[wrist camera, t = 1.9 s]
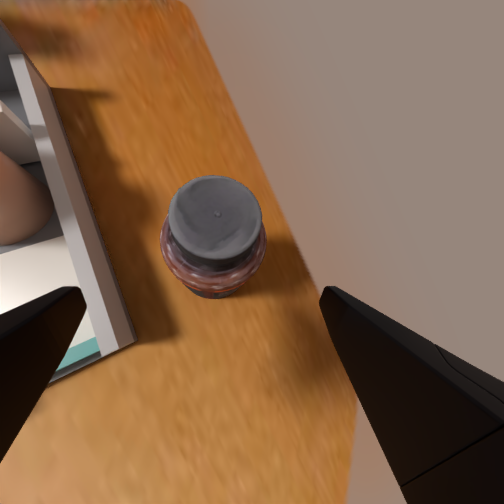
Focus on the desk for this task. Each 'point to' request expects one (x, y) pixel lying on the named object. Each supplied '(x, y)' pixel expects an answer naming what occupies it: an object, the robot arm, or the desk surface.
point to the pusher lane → (59, 224)
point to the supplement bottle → (213, 236)
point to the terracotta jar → (21, 202)
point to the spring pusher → (16, 138)
